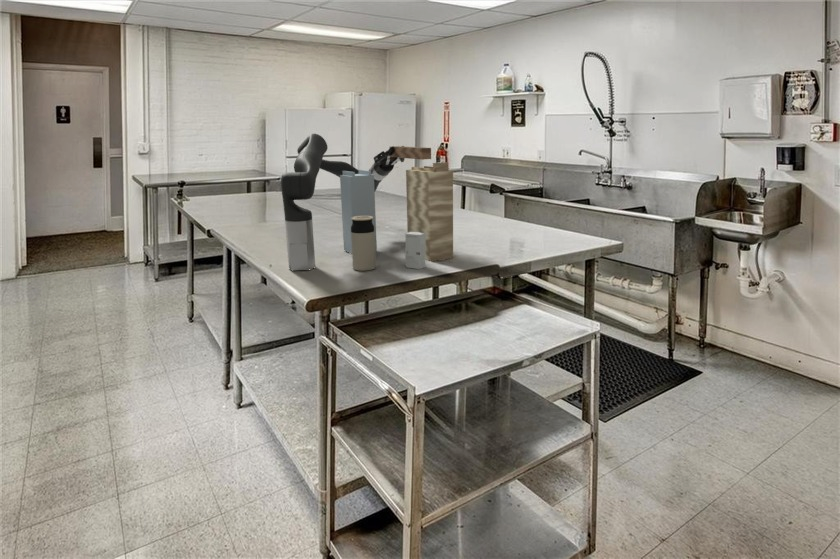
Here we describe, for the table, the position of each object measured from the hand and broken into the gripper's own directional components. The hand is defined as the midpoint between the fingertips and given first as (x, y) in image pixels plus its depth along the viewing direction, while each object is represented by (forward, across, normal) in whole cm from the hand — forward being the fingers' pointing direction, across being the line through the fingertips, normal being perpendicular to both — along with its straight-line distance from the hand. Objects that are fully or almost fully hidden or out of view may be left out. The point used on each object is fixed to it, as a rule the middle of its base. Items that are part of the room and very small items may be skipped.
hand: (398, 148), depth 219 cm
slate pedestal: (-21, -18, +34) cm, 43 cm away
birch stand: (-1, 0, +45) cm, 45 cm away
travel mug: (+2, -29, +46) cm, 55 cm away
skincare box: (+9, -14, +51) cm, 54 cm away
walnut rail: (+5, 0, +7) cm, 9 cm away
